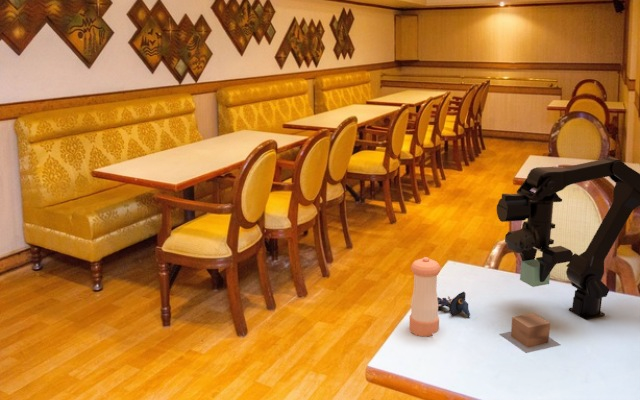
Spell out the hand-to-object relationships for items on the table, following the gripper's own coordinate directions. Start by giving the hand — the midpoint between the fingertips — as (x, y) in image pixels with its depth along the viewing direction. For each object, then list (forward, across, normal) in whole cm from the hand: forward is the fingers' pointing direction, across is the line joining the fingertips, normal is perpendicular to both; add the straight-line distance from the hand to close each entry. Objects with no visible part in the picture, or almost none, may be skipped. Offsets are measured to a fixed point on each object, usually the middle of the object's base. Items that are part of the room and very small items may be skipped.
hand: (534, 278), depth 154 cm
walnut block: (+11, +10, -9) cm, 17 cm away
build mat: (+11, +10, -9) cm, 17 cm away
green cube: (+1, 0, 0) cm, 1 cm away
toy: (+12, -12, -18) cm, 25 cm away
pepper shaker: (+12, -5, -29) cm, 32 cm away
